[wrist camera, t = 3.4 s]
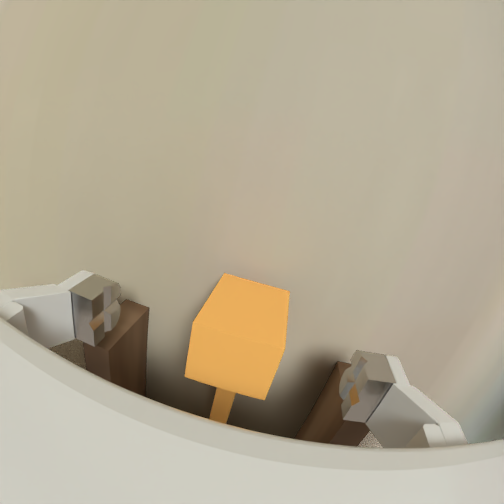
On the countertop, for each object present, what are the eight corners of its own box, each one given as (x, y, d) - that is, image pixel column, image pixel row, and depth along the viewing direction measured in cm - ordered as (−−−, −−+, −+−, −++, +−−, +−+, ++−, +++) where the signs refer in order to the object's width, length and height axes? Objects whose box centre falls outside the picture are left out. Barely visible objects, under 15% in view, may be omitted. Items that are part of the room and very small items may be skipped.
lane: (361, 366, 12) (375, 423, 8) (266, 501, 17) (261, 535, 14) (126, 299, 12) (82, 338, 9) (134, 462, 18) (118, 492, 14)
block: (334, 293, 11) (359, 408, 5) (241, 486, 16) (226, 550, 11) (185, 252, 11) (97, 331, 6) (163, 463, 17) (136, 523, 11)
